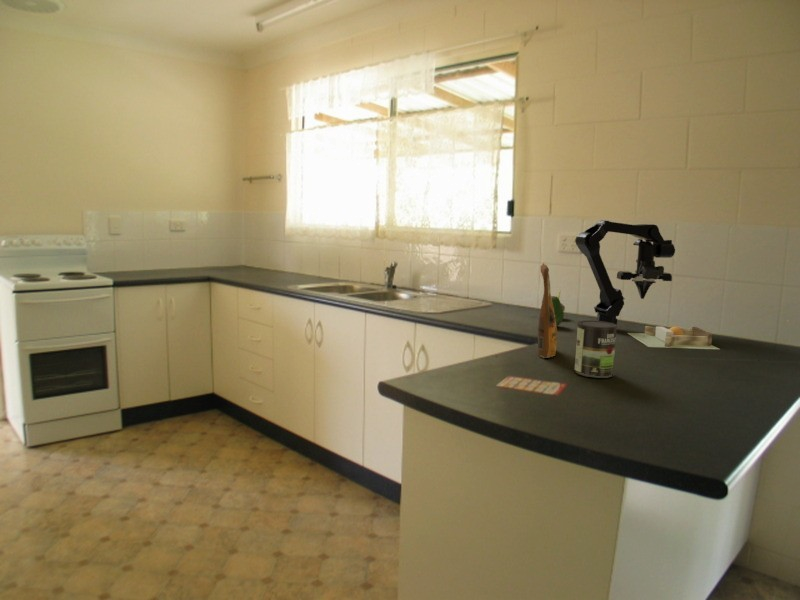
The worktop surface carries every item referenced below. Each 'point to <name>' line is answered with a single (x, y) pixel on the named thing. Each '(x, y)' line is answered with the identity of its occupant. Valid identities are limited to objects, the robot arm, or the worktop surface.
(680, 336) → the wooden tray
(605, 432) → the worktop surface
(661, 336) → the white block
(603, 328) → the coffee can
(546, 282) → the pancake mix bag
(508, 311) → the worktop surface
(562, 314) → the fruit
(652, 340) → the white flat square board
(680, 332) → the ball
